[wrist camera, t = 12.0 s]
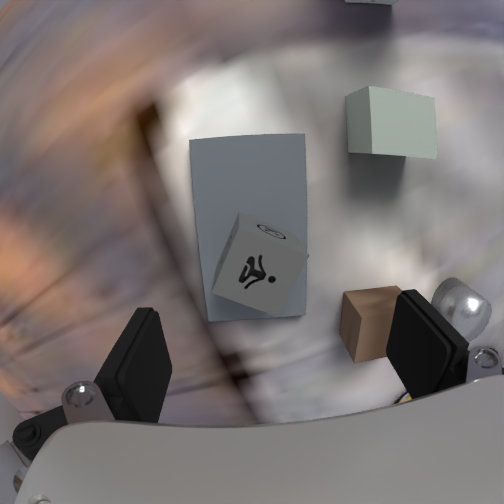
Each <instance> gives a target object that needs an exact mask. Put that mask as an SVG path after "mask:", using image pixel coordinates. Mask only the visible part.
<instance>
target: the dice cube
mask: <svg viewBox="0 0 504 504" xmlns="http://www.w3.org/2000/svg"><path fill="white" fill-rule="evenodd" d="M308 257H309V255H308V253H307V252H306V250H305V249H304V247H303V245H302V244H301V242H300V241H299V239H298V238H297V236H296V235H294V234H292V233H290V232H287V231H285V230H283V229H280V228H278V227H276V226H273V225H271V224H268V223H266V222H264V221H261V220H259V219H256V218H254V217H252V216H249V215H247V214H244V213H242V212H239V214H238V216H237V218H236V221H235V223H234V225H233V228H232V230H231V232H230V235H229V237H228V239H227V242H226V244H225V247H224V249H223V251H222V254H221V256H220V259H219V261H218V263H217V266H216V271H215V276H214V282H213V287H212V293H213V294H216V295H219V296H221V297H224V298H227V299H230V300H232V301H235V302H238V303H241V304H244V305H246V306H249V307H252V308H255V309H258V310H261V311H264V312H266V313H269V314H272V315H275V316H278V314H279V312H280V310H281V308H282V306H283V305H284V303H285V301H286V299H287V297H288V295H289V293H290V292H291V290H292V288H293V286H294V284H295V282H296V280H297V278H298V276H299V274H300V272H301V271H302V269H303V267H304V265H305V263H306V261H307V259H308Z"/></svg>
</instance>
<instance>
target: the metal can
mask: <svg viewBox="0 0 504 504" xmlns="http://www.w3.org/2000/svg"><path fill="white" fill-rule="evenodd" d="M431 305H432V306H433V307H434V308H435V309H436V310H437V311H438V312H439V313H440V314H441V315H442V316H443V317H444V318H445V319H446V320H447V321H448V322H449V323H450V324H451V325H452V326H453V327H454V328H455V329H456V330H457V331H458V332H459V333H460V334H461V335H462V336H463V337H464V339H465V340H466V341H467V342H470V341H472V340H474V339H475V338H477V337H478V336H479V335H480V334H481V333H482V331H483V330H484V329H485V327H486V326H487V324H488V322H489V319H490V316H491V311H492V308H491V304H490V303H489V302H488V301H487V300H486V299H484V298H483V297H482V296H481V295H479V294H478V293H477V292H475V291H474V290H473V289H471V288H470V287H468V286H467V285H466V284H464V283H463V282H462V281H460V280H459V279H457V278H454V277H453V278H449V279H446V280H445V281H443V282H442V283H441V284H440V285H439V287H438V288H437V289H436V291H435V293H434V295H433V298H432V303H431Z"/></svg>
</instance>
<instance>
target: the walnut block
mask: <svg viewBox="0 0 504 504" xmlns="http://www.w3.org/2000/svg"><path fill="white" fill-rule="evenodd" d="M401 292H402V290H401V289H400V288H399V287H397V286H389V287H381V288H372V289H364V290H355V291H345V292H344V295H343V306H342V315H341V324H340V332H339V334H340V336H341V338H342V340H343V342H344V344H345V346H346V348H347V350H348V352H349V354H350V356H351V358H352V360H353V362H354V363H357V362H363V361H368V360H373V359H378V358H383V357H387V355H386V346H387V342H388V338H389V334H390V329H391V324H392V320H393V315H394V310H395V304H396V299H397V296H398V295H400V293H401Z"/></svg>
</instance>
